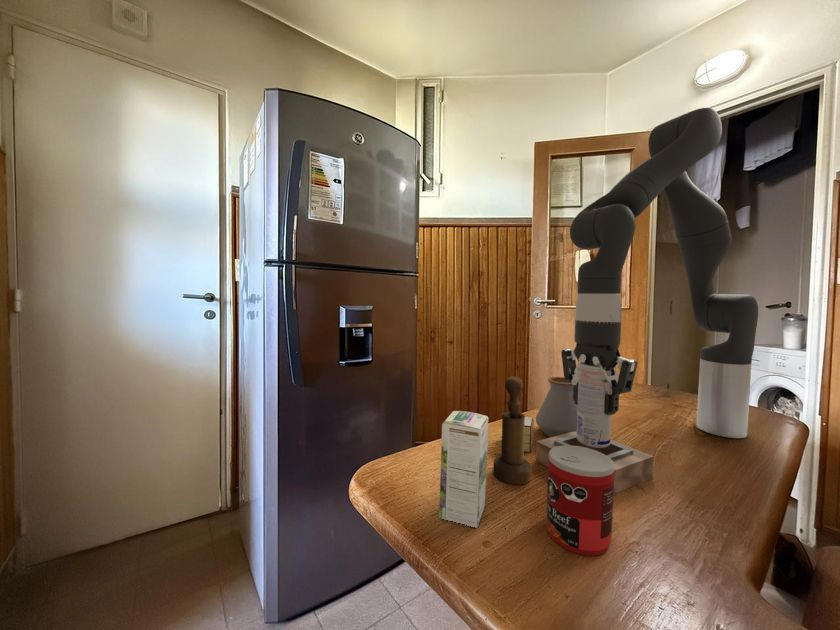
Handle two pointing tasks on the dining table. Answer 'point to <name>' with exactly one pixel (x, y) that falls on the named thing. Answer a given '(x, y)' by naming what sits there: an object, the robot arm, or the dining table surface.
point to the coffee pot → (558, 409)
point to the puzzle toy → (528, 434)
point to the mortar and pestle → (513, 440)
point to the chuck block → (627, 460)
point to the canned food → (580, 499)
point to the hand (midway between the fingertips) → (594, 408)
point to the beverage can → (592, 408)
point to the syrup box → (463, 467)
